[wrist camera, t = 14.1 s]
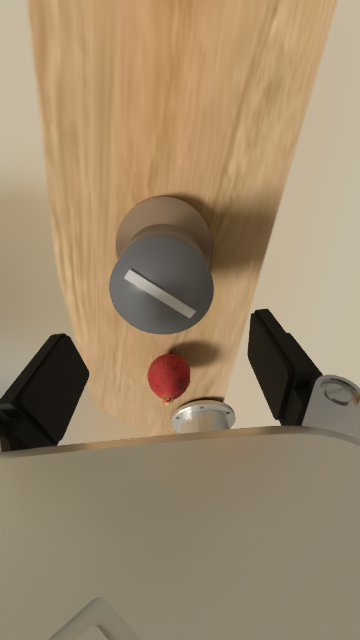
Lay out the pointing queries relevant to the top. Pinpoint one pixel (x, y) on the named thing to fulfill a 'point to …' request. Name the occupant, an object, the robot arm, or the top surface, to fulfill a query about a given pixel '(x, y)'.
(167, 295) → the grey striped cylinder
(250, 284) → the top surface
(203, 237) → the post base
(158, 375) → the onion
